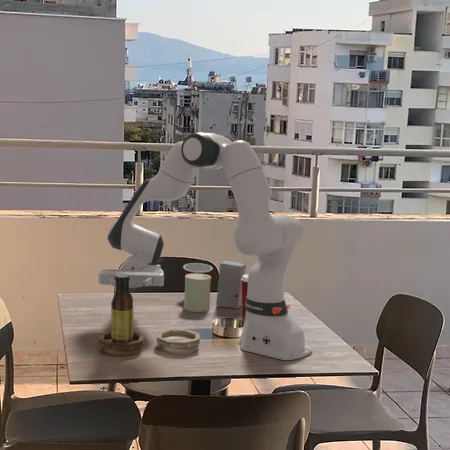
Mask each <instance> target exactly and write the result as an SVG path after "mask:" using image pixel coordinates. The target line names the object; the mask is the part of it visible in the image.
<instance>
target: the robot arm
mask: <svg viewBox="0 0 450 450" xmlns="http://www.w3.org/2000/svg"><path fill="white" fill-rule="evenodd" d="M201 168H202V169H207V170H223V171H224V173H225V175H226V178H227V181H228V185H229V186H230V189H231V192H232V194H233V197H234V199H235V203H236V207H237V213H238V223H237V226H236V228H235V230H234V233H233V234H234V235H233V242H234V245H235V246H236V249H237V250H238V251H239V252H240V253H241V254H243V255H246V256H252V257H253V256H254V257H257V258H256V260H255V263H254V264H253V265H252V266H251V268H250V269H249V271H248V273H247V274H248V289H247V297H246V300H245V310H246V314H245V317H244V321H243V327H242V332H241V335H240V337H239V340H238V343H239V345H240V351H241V350H242V351H244V352H249V353H254V354H257V355H262V356H265V357H270V358H273V359H278V360H281V361H292V360H298V359H302V358H304V357H307V356H309V355H311V353H312V352H313V347H311V346H309V345H308V344H306V341H305V339H306V338H305V333H304V330H303V329H302V327H300V326H299V324H298V323H297V322H296V321H295V320H294V318H292V316H291V315H290V314H289V309H291V308H292V307H291V306H292V304H287V303H286V300H285V288H286V286H285V285H286V276H287V272H288V268H289V266H290V261H291V259H292V256H293V254H294V251H295V250H296V247H298V245H299V244H300V242H301V241H302V239H303V226H302V224H301V222H300V221H299V220H298V219H297V218H295V217H294V216H291V215H290V216H289V215H285V214H279V215H271V212H270V207H269V206H270V205H269V202H270V199H271V197H272V194H273V193H272V192H273V190H272V188H271V186H270V183H269V181H268V178H267V175H266V173H265V170H264V168H263V165H262V163H261V161H260V159H259V157H258V155H257V153H256V152H255V150H254V149H253V147H252V146H251V144H250V143H249V142H248V141H246V140H240V139H239V140H234V139H232V138H231V137H229V136H227V135H222V134H221V135H220V134H217V133H214V132H202V131H198V132H197V131H196V132H193V133H190V134H188V135H187V136H186V137H185V138H184V139H183V140H182V141H177V142H175V143H174V144H173V146H172V147H171V149H169V151H168V153H167V155H166V156H165V159H164V161H163V162H162V164H161V166H160V169H159V171H158V172H157V173H156V175H154V176H153V177H151V178H146V179H144V181H142V183H141V184H140V186H139V187H138V188H137V190H136V191H135V193H134V194H133V196H132V197H131V199H130V200H129V201H128V203H127V205H126V206H125V208H124V209H123V211H122V212H121V214H120V216H119V217H118V218H117V219H116V220H115V222H113V224H112V225H111V226H110V228H109V230H108V233H107V240H108V243H109V246H111V248H113V249H116V250H119V251H122V252H123V251H124V252H125V253H127V254H130V255H129V256H127V258H126V259H125V260H124V262H123V263H122V266H121V267H120V269H118V268H115V269H114V268H105V269H102V270H101V271H100V272H99V273H98V280H97V281H98V284H99V285H101V286H102V285H106V286H108V285H109V286H115V287H116V281H115V276H116V275H117V274H128V275H129V276H130V280H129V289H137V288H142V287H146V288H147V287H163V286H164V284H165V283H164V282H165V273H164V270H163V269H162V268H161V264H157V263H158V262H159V260H160V258H161V255H162V252H163V250H164V249H163V248H164V240H163V236H162V235H161V234H159V233H157V232H155V231H153V230H151V229H148V228H145V227H143V226H141V225H138V224H136V223H134V222H133V221H132V220H133V219H134V218H135V216H136V214H137V213H138V211H139V210H140V208H141V207H142V205H143V204H144V203H146V202H149V201H151V202H152V201H161V202H171V201H177V200H180V199H182V198H184V197H185V196H186V194H187V193H188V191H189V189H190V188H191V186H192V184H193V181H194V179H195V177H196V175H197V173H198V171H199V169H201Z"/></svg>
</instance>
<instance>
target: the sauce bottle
mask: <svg viewBox="0 0 450 450" xmlns="http://www.w3.org/2000/svg"><path fill="white" fill-rule="evenodd" d="M129 280H130V276H129V275H128V274H117V275H116V276H115V281H116V286H115V291H114V295H113V297H112V301H111V303H110V304H111V307H110V308H111V309H110V310H111V311H110V313H111V315H110V317H111V318H110V319H111V320H110V322H111V323H110V324H111V326H110V328H111V329H110V332H111V337H112V342H113V343H130V342H132V341H133V332H134V298H133V296H132V294H131V291H130V288H129Z"/></svg>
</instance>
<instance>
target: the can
mask: <svg viewBox="0 0 450 450" xmlns="http://www.w3.org/2000/svg"><path fill="white" fill-rule="evenodd" d="M184 279H185V280H184V302H183V309H184V311H185V310H186V311H187V312H192V313H194V312H195V313H204V312H208V311H210V308H211V307H210V301H211V299H210V298H211V281H212V276H211V275H206V274H187V275H185V276H184Z"/></svg>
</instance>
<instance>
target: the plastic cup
mask: <svg viewBox="0 0 450 450" xmlns="http://www.w3.org/2000/svg"><path fill="white" fill-rule="evenodd" d="M183 269H184V273H185V275H187V274H206V275H209V276H211V272H212V271H213V266H211V265H209V264H206V263H201V262H200V263H199V262H194V263H193V262H192V263H191V262H190V263H186V264H184V265H183Z"/></svg>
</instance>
